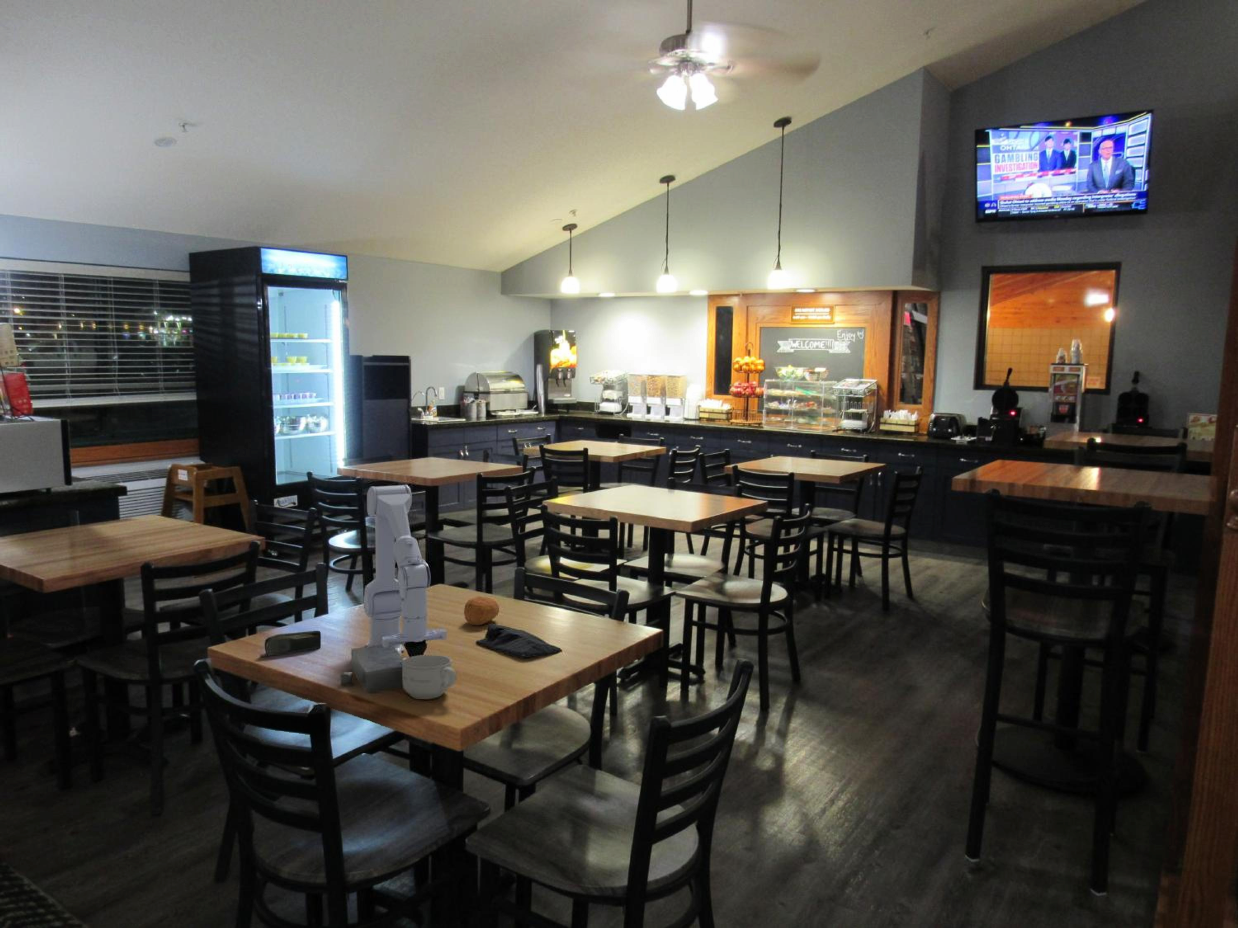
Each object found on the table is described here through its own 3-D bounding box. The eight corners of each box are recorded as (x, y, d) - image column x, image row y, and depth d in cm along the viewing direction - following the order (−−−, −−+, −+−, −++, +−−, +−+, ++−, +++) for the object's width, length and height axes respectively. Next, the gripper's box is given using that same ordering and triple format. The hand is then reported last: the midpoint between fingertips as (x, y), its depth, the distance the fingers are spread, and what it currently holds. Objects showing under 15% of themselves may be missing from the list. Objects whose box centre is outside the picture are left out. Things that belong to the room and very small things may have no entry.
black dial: (339, 682, 195) (339, 672, 195) (352, 681, 196) (352, 670, 196) (341, 686, 193) (341, 675, 192) (354, 685, 194) (354, 674, 194)
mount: (351, 668, 205) (351, 648, 204) (391, 662, 209) (391, 643, 208) (366, 693, 189) (366, 671, 188) (409, 686, 193) (408, 665, 193)
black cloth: (517, 665, 209) (517, 646, 209) (471, 643, 226) (471, 626, 226) (566, 653, 219) (567, 635, 219) (519, 633, 236) (519, 616, 236)
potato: (455, 623, 243) (455, 598, 242) (484, 615, 252) (483, 590, 251) (478, 629, 237) (478, 603, 236) (506, 620, 246) (506, 595, 245)
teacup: (393, 694, 189) (392, 659, 188) (435, 682, 196) (434, 648, 195) (426, 712, 179) (426, 675, 178) (469, 698, 186) (469, 663, 185)
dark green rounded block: (319, 628, 221) (258, 636, 213) (322, 631, 219) (260, 639, 210) (319, 646, 222) (258, 655, 213) (322, 649, 219) (260, 658, 211)
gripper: (386, 623, 189) (387, 682, 190) (450, 616, 195) (450, 673, 197) (379, 615, 195) (380, 672, 196) (441, 608, 202) (442, 663, 203)
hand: (415, 672), depth 197 cm, fingers closed
